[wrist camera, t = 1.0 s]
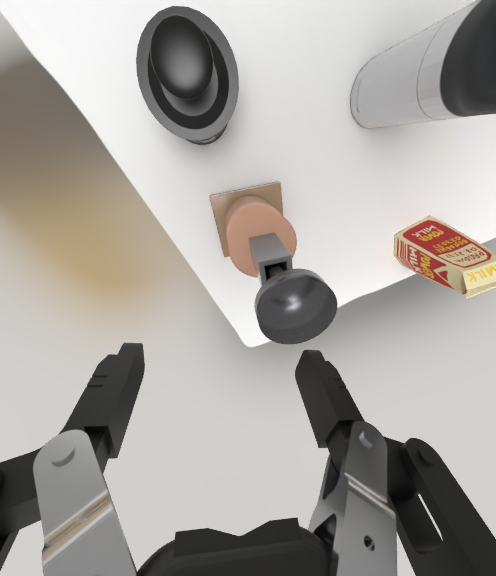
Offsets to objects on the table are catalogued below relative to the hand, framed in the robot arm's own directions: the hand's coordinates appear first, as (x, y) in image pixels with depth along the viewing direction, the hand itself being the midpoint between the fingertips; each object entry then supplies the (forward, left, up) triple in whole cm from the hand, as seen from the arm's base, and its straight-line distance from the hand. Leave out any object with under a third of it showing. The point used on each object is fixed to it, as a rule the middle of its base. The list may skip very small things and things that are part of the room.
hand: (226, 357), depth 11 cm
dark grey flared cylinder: (-1, -15, -37) cm, 40 cm away
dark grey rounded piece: (-6, +4, -17) cm, 18 cm away
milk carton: (-43, +17, -37) cm, 59 cm away
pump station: (-6, +4, -37) cm, 37 cm away
